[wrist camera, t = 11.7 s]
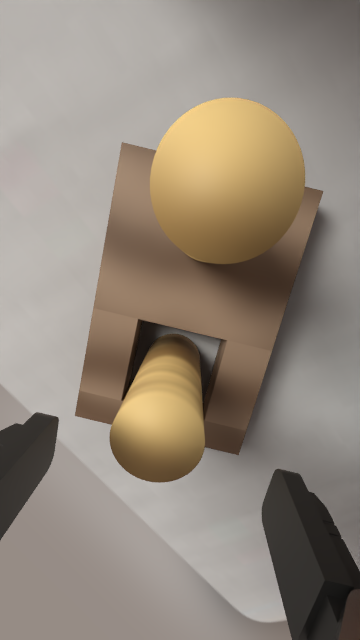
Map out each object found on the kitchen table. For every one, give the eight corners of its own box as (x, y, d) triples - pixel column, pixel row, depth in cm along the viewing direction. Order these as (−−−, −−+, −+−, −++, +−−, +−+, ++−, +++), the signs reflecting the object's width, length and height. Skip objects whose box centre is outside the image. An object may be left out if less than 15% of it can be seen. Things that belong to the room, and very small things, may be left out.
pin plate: (131, 157, 19) (15, -33, 7) (306, 200, 19) (514, 88, 7) (87, 399, 23) (-37, 562, 10) (233, 434, 23) (280, 637, 10)
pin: (153, 328, 21) (118, 387, 11) (205, 340, 21) (215, 410, 11) (142, 376, 22) (102, 470, 12) (192, 388, 22) (192, 491, 12)
